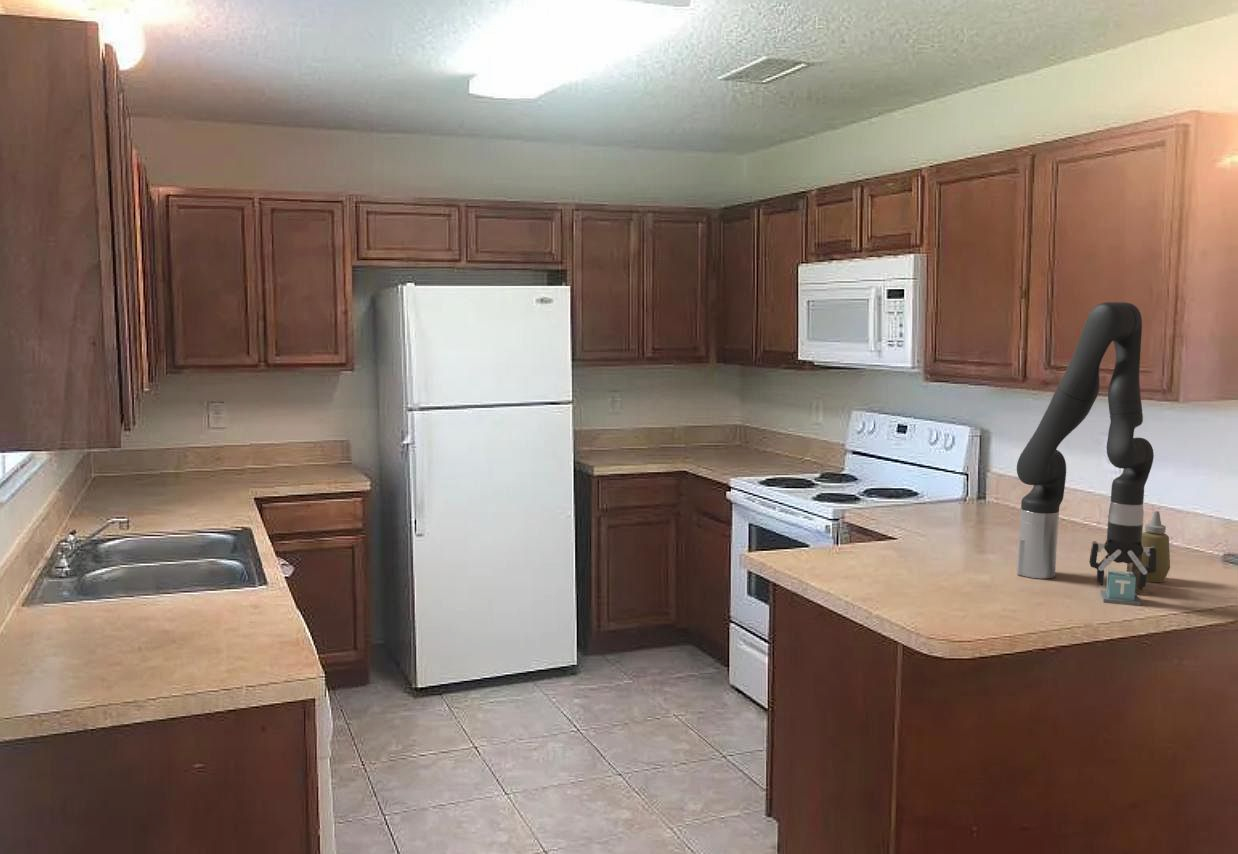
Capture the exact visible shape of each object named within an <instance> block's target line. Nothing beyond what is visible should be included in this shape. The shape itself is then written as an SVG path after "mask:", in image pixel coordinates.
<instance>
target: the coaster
mask: <svg viewBox="0 0 1238 854" xmlns="http://www.w3.org/2000/svg"><path fill="white" fill-rule="evenodd" d="M1099 594H1100V597H1101V600H1102V603H1108V604H1118V605H1119V604H1121V605H1130V606H1138V607H1139V606H1141V605H1142V604H1141V603H1142V602H1141V600H1140V598H1139V597H1138V596H1139V595H1137V594H1136V593H1135V596H1134V600H1123V599H1113V598H1109V597H1108V595H1107V593H1106V590H1104V589H1100V590H1099Z"/></svg>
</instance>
